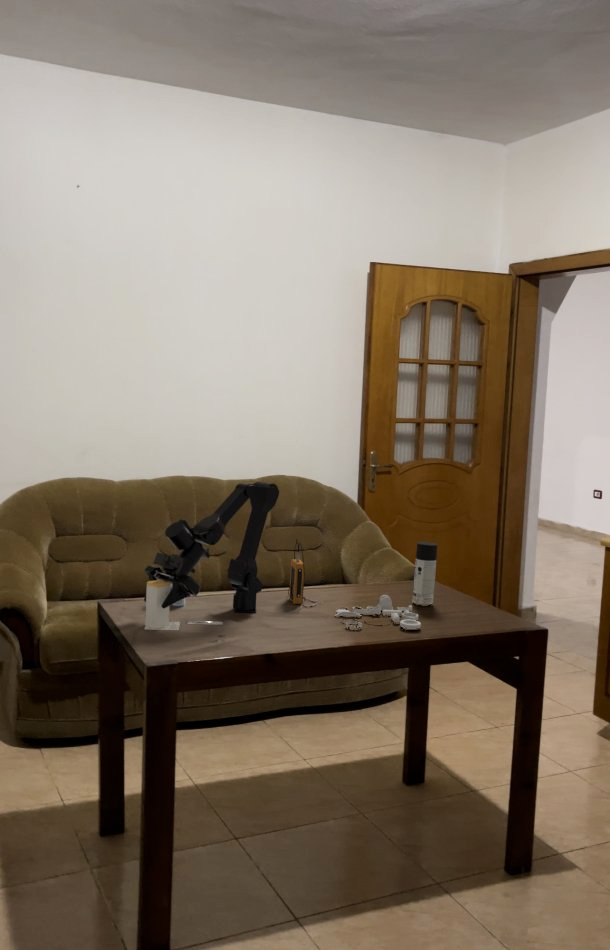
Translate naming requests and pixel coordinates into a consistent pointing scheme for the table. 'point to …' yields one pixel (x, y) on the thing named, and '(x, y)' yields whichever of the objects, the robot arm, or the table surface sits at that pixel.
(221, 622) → the rod
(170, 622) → the case base
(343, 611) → the robot parts
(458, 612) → the table surface
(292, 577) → the multimeter
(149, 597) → the block
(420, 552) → the spray can
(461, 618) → the table surface
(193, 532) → the robot arm
